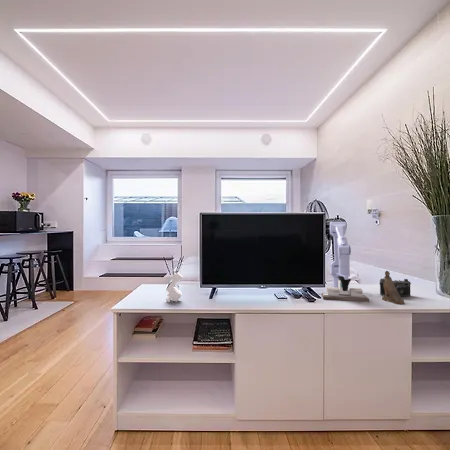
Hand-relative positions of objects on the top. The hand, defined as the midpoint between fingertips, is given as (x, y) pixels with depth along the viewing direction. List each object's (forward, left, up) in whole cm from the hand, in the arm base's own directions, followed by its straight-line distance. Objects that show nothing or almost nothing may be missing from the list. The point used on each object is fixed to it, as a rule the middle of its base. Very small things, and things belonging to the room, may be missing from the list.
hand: (344, 289), depth 171 cm
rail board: (0, 0, -5) cm, 5 cm away
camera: (-10, +31, -5) cm, 33 cm away
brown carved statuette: (+2, +25, -5) cm, 26 cm away
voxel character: (+24, -94, -5) cm, 97 cm away
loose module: (0, 0, -2) cm, 2 cm away
